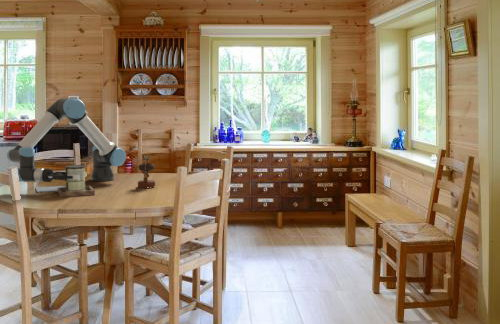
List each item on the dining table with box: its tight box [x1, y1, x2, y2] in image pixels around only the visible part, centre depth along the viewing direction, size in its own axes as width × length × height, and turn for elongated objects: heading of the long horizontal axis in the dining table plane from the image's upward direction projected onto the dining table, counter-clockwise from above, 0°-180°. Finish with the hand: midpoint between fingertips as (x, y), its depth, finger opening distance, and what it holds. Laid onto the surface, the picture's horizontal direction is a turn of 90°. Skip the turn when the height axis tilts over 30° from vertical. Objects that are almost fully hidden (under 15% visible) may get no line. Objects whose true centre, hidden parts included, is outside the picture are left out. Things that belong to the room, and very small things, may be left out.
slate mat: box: [35, 185, 66, 194], centre depth 300 cm, size 16×16×1 cm
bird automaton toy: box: [137, 154, 156, 189], centre depth 312 cm, size 15×11×20 cm
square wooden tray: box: [57, 185, 96, 198], centre depth 289 cm, size 18×18×2 cm
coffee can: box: [64, 164, 86, 192], centre depth 288 cm, size 10×10×14 cm
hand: (82, 175), depth 287 cm, fingers closed on coffee can, 10 cm apart
